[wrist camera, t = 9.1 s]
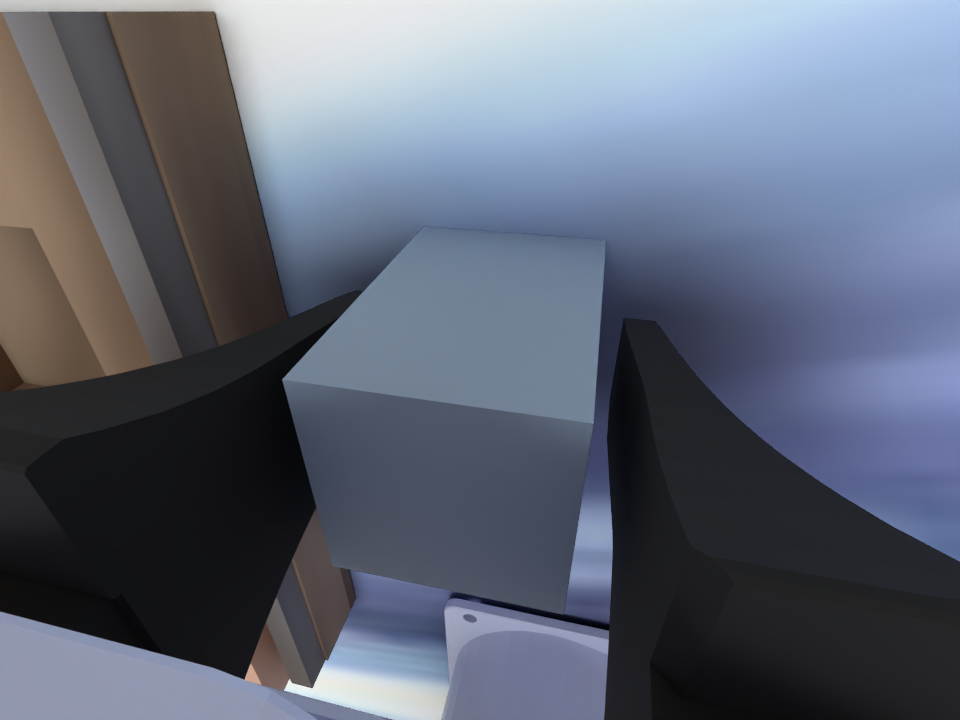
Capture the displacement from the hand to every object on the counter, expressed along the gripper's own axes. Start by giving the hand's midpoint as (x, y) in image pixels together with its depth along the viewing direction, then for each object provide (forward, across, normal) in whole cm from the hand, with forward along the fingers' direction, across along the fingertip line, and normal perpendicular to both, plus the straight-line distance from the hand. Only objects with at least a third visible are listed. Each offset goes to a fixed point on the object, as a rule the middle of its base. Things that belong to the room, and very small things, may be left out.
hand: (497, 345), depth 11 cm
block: (+2, 0, 0) cm, 2 cm away
